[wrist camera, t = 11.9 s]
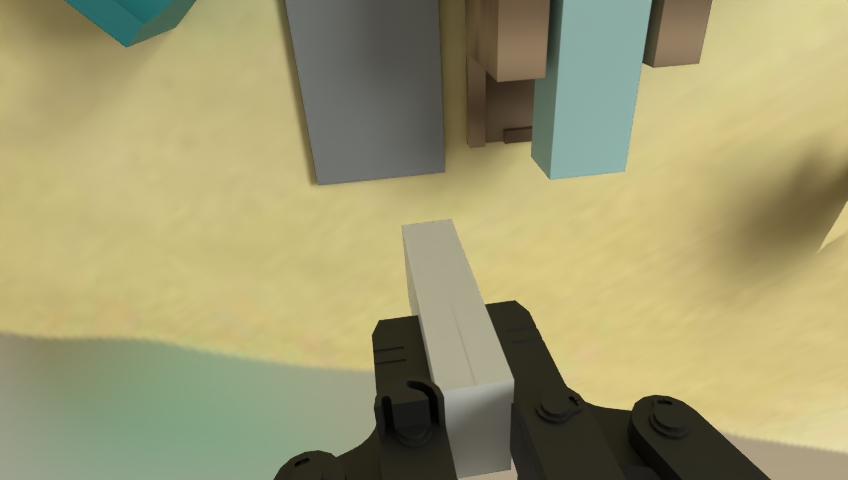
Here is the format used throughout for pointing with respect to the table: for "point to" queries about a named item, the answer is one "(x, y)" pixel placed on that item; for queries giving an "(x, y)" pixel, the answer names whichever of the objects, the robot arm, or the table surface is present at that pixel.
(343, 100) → the felt mat
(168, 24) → the teal l-shaped bracket
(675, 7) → the pocket board
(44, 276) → the table surface
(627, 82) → the bar
